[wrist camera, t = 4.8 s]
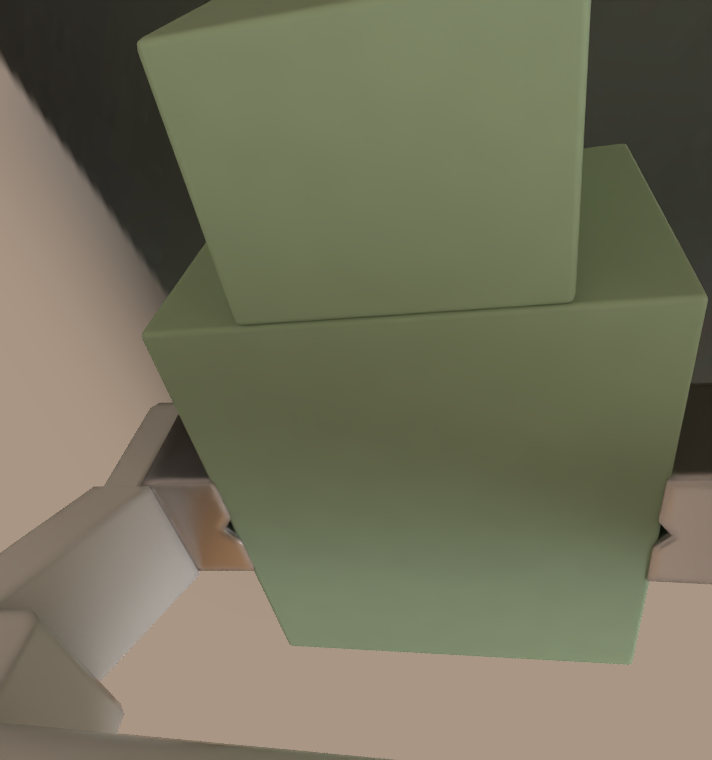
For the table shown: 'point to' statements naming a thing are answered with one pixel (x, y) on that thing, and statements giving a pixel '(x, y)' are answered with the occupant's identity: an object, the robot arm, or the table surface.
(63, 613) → the robot arm
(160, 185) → the table surface
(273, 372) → the sage block
